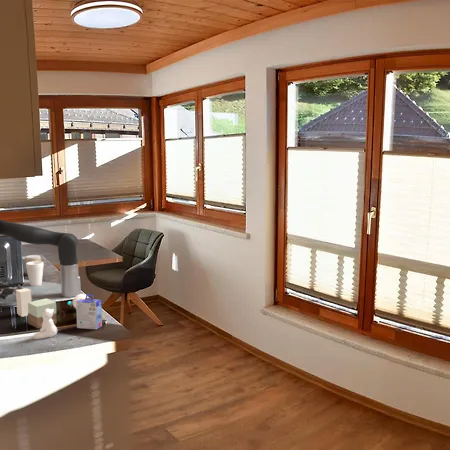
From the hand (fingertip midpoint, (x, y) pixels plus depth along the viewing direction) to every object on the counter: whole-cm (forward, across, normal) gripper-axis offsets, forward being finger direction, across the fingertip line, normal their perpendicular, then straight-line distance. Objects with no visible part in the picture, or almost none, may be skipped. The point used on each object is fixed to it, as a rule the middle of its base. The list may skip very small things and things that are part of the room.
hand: (13, 295), depth 248 cm
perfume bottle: (+23, +22, +7) cm, 32 cm away
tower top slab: (+29, 0, +2) cm, 29 cm away
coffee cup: (-60, +39, +7) cm, 72 cm away
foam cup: (-37, +29, +7) cm, 48 cm away
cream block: (+11, 0, +7) cm, 13 cm away
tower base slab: (+29, 0, +7) cm, 30 cm away
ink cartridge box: (+49, +12, +7) cm, 51 cm away
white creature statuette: (+45, -6, +7) cm, 46 cm away
